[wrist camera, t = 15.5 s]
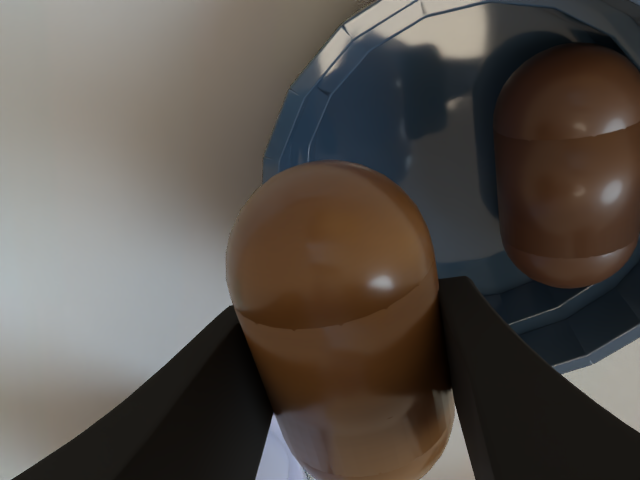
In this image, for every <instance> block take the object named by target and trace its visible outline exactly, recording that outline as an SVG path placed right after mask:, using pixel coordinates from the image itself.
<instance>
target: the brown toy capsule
mask: <svg viewBox="0 0 640 480" xmlns="http://www.w3.org/2000/svg"><path fill="white" fill-rule="evenodd" d="M493 137H494V151H495V166H496V181H497V196H498V211H499V226H500V234H501V240H502V244H503V247H504V249H505V251H506V253H507V255H508V257H509V258H510V259H511V261H512V262H513V263H514V265H515V266H516V267H517V268H518V269H519V270H520V271H522V272H523V273H524V274H525V275H527V276H528V277H529V278H531V279H533V280H535V281H537V282H540V283H542V284H545V285H548V286H552V287H556V288H566V289H573V288H581V287H586V286H590V285H593V284H596V283H600V282H602V281H604V280H606V279H607V278H609V277H610V276H612V275H613V274H615V273H616V272H617V271H619V270H620V269H621V268H622V267H623V266H624V265H625V263H626V262H627V261H628V260H629V258H630V257H631V255H632V253H633V252H634V250H635V248H636V246H637V242H638V237H639V233H640V73H639V71H638V69H637V68H636V67H635V66H634V65H633V64H632V63H631V62H630V61H629V60H628V59H627V58H626V57H625V56H624V55H622V54H620V53H618V52H617V51H615V50H613V49H611V48H608V47H605V46H602V45H598V44H594V43H581V42H575V43H566V44H561V45H557V46H554V47H551V48H549V49H547V50H544V51H542V52H539V53H537V54H536V55H534V56H533V57H531V58H530V59H528V60H527V61H525V62H524V63H523V64H522V65H521V66H520V67H519V68H518V69H517V70H515V71H514V72H513V73H512V74H511V76H510V77H509V79H508V80H507V81H506V83H505V84H504V85H503V87H502V90H501V92H500V94H499V96H498V98H497V102H496V106H495V110H494V114H493Z"/></svg>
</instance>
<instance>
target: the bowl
mask: <svg viewBox="0 0 640 480" xmlns="http://www.w3.org/2000/svg"><path fill="white" fill-rule="evenodd" d="M575 42H581V43H594V44H598V45H602V46H605V47H608V48H611V49H613V50H615V51H617V52H618V53H620V54H622V55H624V56H625V57H626V58H627V59H628V60H629V61H630V62H631V63H632V64H633V65H634V66H635V67H636V68H637V69H638V71H639V73H640V0H373V1H372V2H370V3H369V4H367V5H366V6H364V7H363V8H361V9H359V10H358V11H356V12H355V13H353V14H352V15H351V16H350V17H349V18H348V19H346V20H345V21H344V22H343V23H342V24H341V25H340V26H339V27H338V28H337V29H336V31H335V32H334V33H333V34H332V36H331V37H330V38H329V39H328V40H327V42H326V43H325V44H324V45H323V47H322V48H321V49H320V50H319V52H318V53H317V54H316V55H315V56H314V58H313V59H312V60H311V61H310V63H309V64H308V65H307V66H306V67H305V69H304V70H303V71H302V72H301V74H300V75H299V76H298V77H297V79H296V80H295V81H294V82H293V83H292V85H291V86H290V89H289V90H288V92H287V94H286V97H285V99H284V102H283V105H282V107H281V110H280V113H279V115H278V118H277V121H276V123H275V126H274V129H273V131H272V134H271V137H270V139H269V142H268V144H267V147H266V150H265V152H264V157H263V175H262V185H263V184H264V183H265V182H267V181H268V180H269V179H270V178H272V177H273V176H274V175H276V174H278V173H280V172H282V171H284V170H286V169H288V168H291V167H294V166H297V165H300V164H303V163H307V162H312V161H319V160H341V161H347V162H353V163H358V164H362V165H364V166H366V167H368V168H371V169H373V170H375V171H378V172H380V173H382V174H384V175H385V176H387V177H388V178H389V179H391V180H392V181H393V182H395V183H396V184H397V185H399V186H400V187H401V188H402V189H403V190H404V191H405V192H406V194H407V195H408V196H409V197H410V198H411V199H412V201H413V202H414V203H415V204H416V205H417V207H418V209H419V211H420V213H421V215H422V217H423V218H424V220H425V222H426V225H427V227H428V230H429V233H430V236H431V240H432V244H433V248H434V254H435V261H436V268H437V275H438V279H443V278H451V277H458V276H467V277H469V278H470V279H471V280H472V281H473V283H474V284H475V286H476V287H477V288H478V290H479V291H480V292H481V294H482V295H483V296H484V298H485V299H486V300H487V301H488V303H489V304H490V305H491V306H492V307H493V308H494V310H495V311H496V312H497V313H498V314H499V315H500V316H501V318H502V319H503V320H504V321H505V322H506V323H507V324H508V325H509V326H510V327H511V328H512V329H513V330H514V331H515V332H516V333H517V334H518V335H519V336H520V337H521V338H522V339H523V340H524V341H525V342H526V343H527V344H528V345H529V346H530V347H531V348H532V349H533V350H534V351H535V352H536V353H537V354H538V355H539V356H541V357H542V358H543V359H544V360H545V361H546V362H547V363H548V364H549V365H550V366H552V367H553V368H554V369H555V370H556V371H557V372H559V373H560V374H564V373H567V372H570V371H573V370H577V369H580V368H583V367H586V366H590V365H592V363H593V364H595V363H597V362H598V361H600V360H602V359H604V358H605V357H607V356H609V355H610V354H612V353H614V352H616V351H617V350H619V349H621V348H623V347H624V346H626V345H628V344H629V343H631V342H633V341H635V340H636V339H638V338H640V233H639V237H638V242H637V246H636V248H635V250H634V252H633V253H632V255H631V257H630V258H629V260H628V261H627V262H626V263H625V265H624V266H623V267H622V268H621V269H620V270H619V271H617V272H616V273H615V274H613V275H612V276H610V277H609V278H607V279H606V280H604V281H602V282H600V283H596V284H593V285H590V286H586V287H581V288H573V289H566V288H556V287H552V286H548V285H545V284H542V283H540V282H537V281H535V280H533V279H531V278H529V277H528V276H527V275H525V274H524V273H523V272H522V271H520V270H519V269H518V268H517V267H516V266H515V265H514V263H513V262H512V261H511V259H510V258H509V257H508V255H507V253H506V251H505V249H504V247H503V244H502V240H501V234H500V226H499V211H498V196H497V181H496V166H495V151H494V137H493V114H494V110H495V106H496V102H497V98H498V96H499V94H500V92H501V90H502V87H503V85H504V84H505V83H506V81H507V80H508V79H509V77H510V76H511V74H512V73H513V72H514V71H515V70H517V69H518V68H519V67H520V66H521V65H522V64H523V63H524V62H525V61H527V60H528V59H530V58H531V57H533V56H534V55H536V54H537V53H539V52H542V51H544V50H547V49H549V48H551V47H554V46H557V45H561V44H566V43H575Z"/></svg>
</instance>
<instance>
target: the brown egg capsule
mask: <svg viewBox="0 0 640 480" xmlns="http://www.w3.org/2000/svg"><path fill="white" fill-rule="evenodd" d="M226 281H227V285H228V289H229V293H230V297H231V300H232V303H233V306H234V309H235V311H236V314H237V317H238V319H239V322H240V324H241V327H242V330H243V332H244V335H245V338H246V340H247V343H248V346H249V348H250V351H251V353H252V356H253V359H254V361H255V364H256V367H257V369H258V372H259V375H260V377H261V380H262V382H263V385H264V388H265V390H266V393H267V396H268V398H269V401H270V404H271V406H272V409H273V411H274V414H275V417H276V419H277V422H278V425H279V427H280V430H281V432H282V435H283V438H284V440H285V442H286V444H287V446H288V447H289V449H290V451H291V453H292V455H293V456H294V457H295V459H296V460H297V461H298V463H299V464H300V465H301V466H302V467H303V468H304V469H305V470H306V471H307V472H308V473H309V474H310V475H312V476H313V477H314V478H315V479H316V480H419V479H421V478H422V477H423V476H424V475H425V474H427V472H428V471H429V470H430V469H431V468H432V466H433V465H434V464H435V463H436V462H437V460H438V459H439V458H440V457H441V455H442V453H443V451H444V449H445V447H446V445H447V443H448V440H449V437H450V434H451V431H452V426H453V422H454V417H455V406H454V398H453V392H452V385H451V378H450V371H449V364H448V358H447V351H446V344H445V337H444V330H443V323H442V316H441V309H440V302H439V295H438V291H439V282H438V275H437V268H436V261H435V254H434V248H433V244H432V240H431V236H430V233H429V230H428V227H427V225H426V222H425V220H424V218H423V217H422V215H421V213H420V211H419V209H418V207H417V205H416V204H415V203H414V202H413V201H412V199H411V198H410V197H409V196H408V195H407V194H406V192H405V191H404V190H403V189H402V188H401V187H400V186H399V185H397V184H396V183H395V182H393V181H392V180H391V179H389V178H388V177H387V176H385V175H384V174H382V173H380V172H378V171H375V170H373V169H371V168H368V167H366V166H364V165H362V164H358V163H353V162H347V161H341V160H319V161H312V162H307V163H303V164H300V165H297V166H294V167H291V168H288V169H286V170H284V171H282V172H280V173H278V174H276V175H274V176H273V177H272V178H270V179H269V180H268V181H267V182H265V183H264V184H263V185H262V186H260V187H259V188H258V189H257V190H256V191H255V192H254V193H253V194H252V195H251V197H250V198H249V199H248V200H247V202H246V203H245V204H244V206H243V207H242V208H241V210H240V212H239V214H238V216H237V218H236V220H235V223H234V225H233V227H232V229H231V232H230V234H229V239H228V244H227V249H226Z"/></svg>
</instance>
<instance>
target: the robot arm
mask: <svg viewBox="0 0 640 480" xmlns="http://www.w3.org/2000/svg"><path fill="white" fill-rule="evenodd" d="M438 282H439V291H438V295H439V302H440V309H441V316H442V323H443V330H444V337H445V344H446V351H447V358H448V364H449V371H450V378H451V385H452V392H453V398H454V402H455V406H456V409H457V413H458V417H459V420H460V424H461V428H462V432H463V435H464V439H465V443H466V446H467V450H468V454H469V457H470V461H471V465H472V468H473V472H474V476H475V479H476V480H640V433H639V432H638V431H636V430H634V429H633V428H631V427H630V426H628V425H627V424H625V423H624V422H622V421H621V420H620V419H618V418H617V417H616V416H614V415H613V414H611V413H610V412H609V411H607V410H606V409H604V408H603V407H602V406H600V405H599V404H597V403H596V402H595V401H594V400H592V399H591V398H590V397H588V396H587V395H586V394H585V393H583V392H582V391H581V390H579V389H578V388H577V387H575V386H574V385H573V384H572V383H571V382H569V381H568V380H567V379H566V378H564V377H563V376H562V375H561V374H560V373H559V372H557V371H556V370H555V369H554V368H553V367H552V366H550V365H549V364H548V363H547V362H546V361H545V360H544V359H543V358H542V357H541V356H539V355H538V354H537V353H536V352H535V351H534V350H533V349H532V348H531V347H530V346H529V345H528V344H527V343H526V342H525V341H524V340H523V339H522V338H521V337H520V336H519V335H518V334H517V333H516V332H515V331H514V330H513V329H512V328H511V327H510V326H509V325H508V324H507V323H506V322H505V321H504V320H503V319H502V318H501V316H500V315H499V314H498V313H497V312H496V311H495V310H494V308H493V307H492V306H491V305H490V304H489V303H488V301H487V300H486V299H485V298H484V296H483V295H482V294H481V292H480V291H479V290H478V288H477V287H476V286H475V284H474V283H473V281H472V280H471V279H470V278H469V277H467V276H458V277H451V278H443V279H438ZM11 480H307V477H306V474H305V471H304V469H303V467H302V466H301V465H300V464H299V463H298V461H297V460H296V459H295V457H294V456H293V455H292V453H291V451H290V449H289V447H288V446H287V444H286V442H285V440H284V438H283V435H282V432H281V430H280V427H279V425H278V422H277V419H276V417H275V414H274V411H273V409H272V406H271V404H270V401H269V398H268V396H267V393H266V390H265V388H264V385H263V382H262V380H261V377H260V375H259V372H258V369H257V367H256V364H255V361H254V359H253V356H252V353H251V351H250V348H249V346H248V343H247V340H246V338H245V335H244V332H243V330H242V327H241V324H240V322H239V319H238V317H237V314H236V311H235V309H234V306H233V305H231V306H229V307H228V308H226V309H225V310H224V311H223V312H222V313H220V314H219V315H218V316H217V317H216V318H215V319H214V320H213V321H212V322H210V323H209V324H208V325H207V326H206V327H205V328H204V329H203V330H202V331H201V332H200V333H199V334H198V335H197V336H196V337H195V338H194V339H192V340H191V341H190V342H189V343H188V344H187V345H186V346H185V347H184V348H183V349H182V350H181V351H180V352H179V353H177V354H176V355H175V356H174V357H173V358H172V359H171V360H170V361H169V362H168V363H167V364H166V365H165V366H163V367H162V368H161V369H160V370H159V371H158V372H157V373H155V374H154V375H153V376H152V377H151V378H150V379H149V380H147V381H146V382H145V383H144V384H143V385H142V386H140V387H139V388H138V389H137V390H136V391H135V392H134V393H132V394H131V395H130V396H129V397H128V398H127V399H125V400H124V401H123V402H122V403H120V404H119V405H118V406H117V407H115V408H114V409H113V410H112V411H110V412H109V413H108V414H107V415H105V416H104V417H103V418H101V419H100V420H99V421H97V422H96V423H94V424H93V425H92V426H90V427H89V428H88V429H86V430H85V431H84V432H82V433H81V434H80V435H78V436H77V437H75V438H74V439H73V440H71V441H70V442H68V443H67V444H65V445H64V446H62V447H61V448H59V449H58V450H56V451H55V452H53V453H52V454H50V455H48V456H47V457H45V458H44V459H42V460H41V461H39V462H38V463H36V464H35V465H33V466H32V467H30V468H29V469H27V470H26V471H24V472H23V473H21V474H20V475H18V476H16V477H15V478H13V479H11Z"/></svg>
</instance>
